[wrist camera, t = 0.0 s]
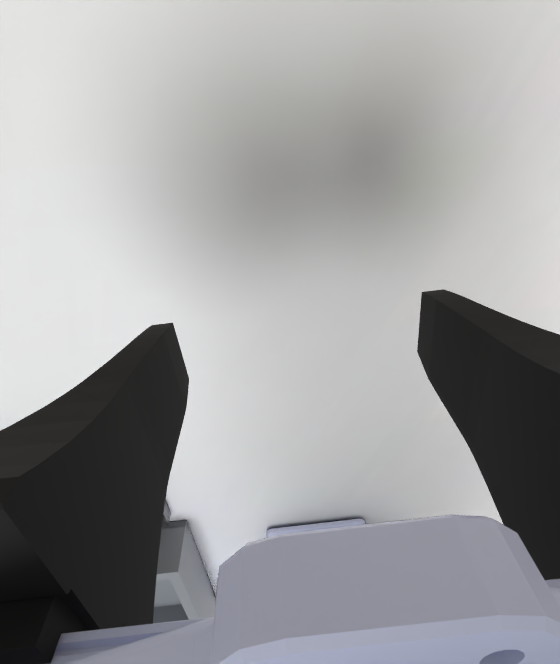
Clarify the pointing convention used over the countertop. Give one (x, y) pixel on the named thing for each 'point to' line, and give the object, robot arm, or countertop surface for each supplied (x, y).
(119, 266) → the countertop surface
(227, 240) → the countertop surface
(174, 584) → the charcoal bin
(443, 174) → the countertop surface
